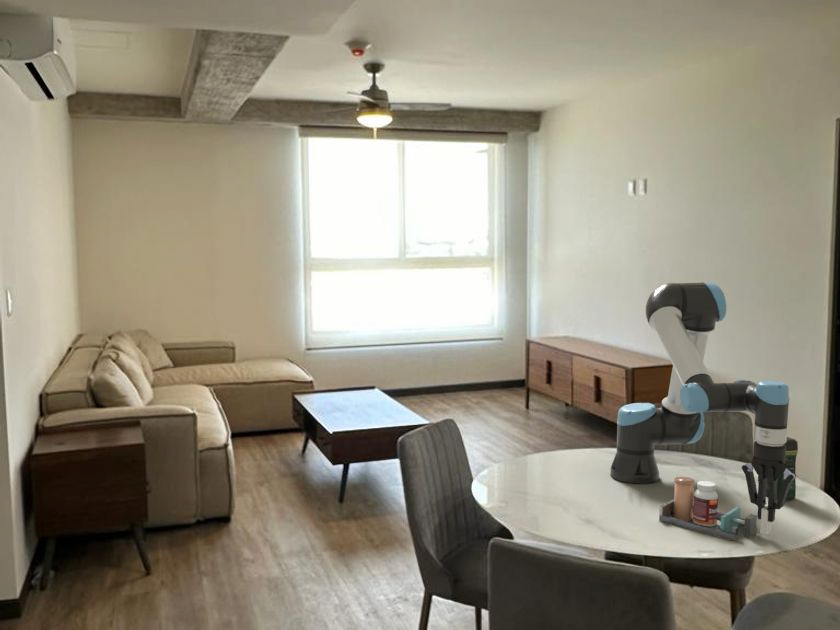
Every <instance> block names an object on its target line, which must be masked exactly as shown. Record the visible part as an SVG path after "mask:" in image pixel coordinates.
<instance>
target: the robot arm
mask: <svg viewBox="0 0 840 630" xmlns="http://www.w3.org/2000/svg"><path fill="white" fill-rule="evenodd" d="M726 314H727V300H726V296H725V293H724V292H723V290H722V288H721V287H720V285H718V284H716V283H712V282H711V283H710V282H709V283H708V282H703V281H701V282H677V283H676V282H668V283H664V284H661V285H660V286H658V287H656V288H655V289H654V290H653V291H652V292H651V293H650V295H649V297H648V299H647V301H646V304H645V316H646V320H647V323H648V325H649V327H650V328H651V329H652V330H653V331H655V332H656V333H657V335H658V337H659V339H660V341H661V343H662V346H663V347H664V350H665V351H666V353H667V355H668V358H669V361H670V362H671V364H672V369H671V373H670V374H671V375H670V381H669V387H668V392H667V393H668V395H667V396H666V397H664V398H663V399H662V400H661V405H660V407H656V405H654V404H653V403H650V402H633V403H629V404H626V405H623V406H621V407H620V408H619V409H618V413H617V419H616V425H617V426H616V452H615V454H614V455H615V456H614V457H613V459H612V463H611V466H610V477H611V478H612V479H615V480H618V481H620V482H624V483H629V484H638V485H639V484H641V485H642V484H652V483H654V482H658V481H659V480H660V470H659V466H658V464H657V459H656V457H655V445H656V446H657V445H661V446H662V445H689V444H694V443H697V442H698V441H699V440H700V439H701V438H702V436H703V433H704V430H705V415H704V413H716V412H718V413H719V412H720V413H721V412H722V413H723V412H725V413H726V412H728V413H729V412H730V413H731V412H749V413H752V414H754V428H753V429H754V431H753V440H755V441H754V442H753V450H752V451H753V452H752V459H751V460H750V462H749V463H745V464H743V465H742V466H741V469H742V471H743V473H744V476H745V481H746V484H747V485H746V486H747V490H748V495H749V496H748V497H749V501H750V503H751V504H753V505H756V506H757V520H760V534H762V535H766V536H767V535H768V534H769V533H771V527H772V526H771V523H773V522H774V521H775V519H776V510H781V508H783V507H784V505H785V503H786V501H787V500H786V497H787V494H788V491H789V488H790V485H791V482H792V481H793V480H794V478H795V479H796V477H797V474H796V472H795V473H791V472H790V471H789V470H788V469H787V465H786V463H785V458H786V446H785V443H786V440H787V437H788V435H787V434H788V432H787V431H788V422H789V421H788V419H789V418H788V417H789V403H790V397H789V396H790V395H789V393H790V392H789V391H790V390H789V389H790V388H789V385H788V384H787V383H785V382H783V381H778V380H760V381H758V382H757V383H756V382H753V381H752V380H746V379H738V380H736V381H733V382H714V380H713V378H712V377H711V375H710V373H709V371H708V369H707V367H706V365H705V363H704V359H705V355H706V348H707V343H708V342H707V341H708V336H709V334H710V333H712V332H713V331H714V330H715V327H716V323H720V322H721V321H723V320H724V319H725V317H726ZM754 472H755V473H756V474H757V481H758V484H756V477H755V473H754ZM783 473H784V479H785V480H784V482H783V484H782V487H781V491H780V494H779V497H778V499H776V498H777V482H778V478H779V477H780V476H781V475H782V474H783ZM767 479H768V483H769V493H768V496H767V495H766V487H767ZM757 486H758V488H757ZM767 498H768V500H767Z"/></svg>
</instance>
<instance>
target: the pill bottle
mask: <svg viewBox="0 0 840 630" xmlns="http://www.w3.org/2000/svg"><path fill="white" fill-rule="evenodd" d="M696 487H697V488H696V490H694V496H693V519H692V523H696V524H699V525H703V526H707V527H711V528H713V527H715V526H717V521H718V518H717V512H718V505H719V504H718V503H719V495H718V492H717V491H716V490H717V489H716V488H717V487H716V483H715V482H712V481H709V480H708V481H706V480H701V481H697V484H696Z"/></svg>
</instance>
